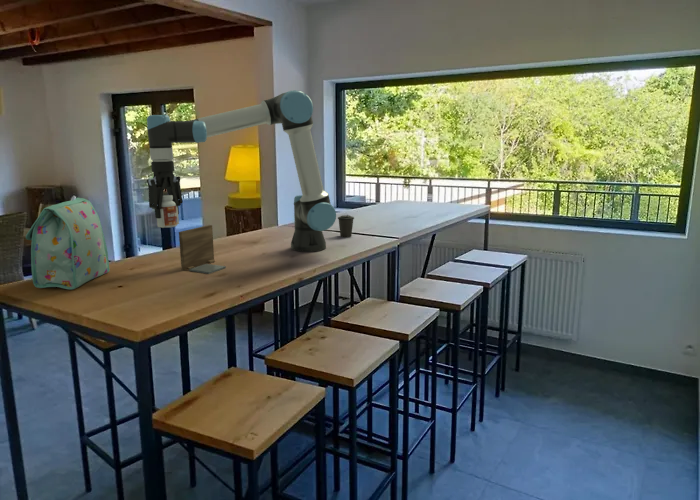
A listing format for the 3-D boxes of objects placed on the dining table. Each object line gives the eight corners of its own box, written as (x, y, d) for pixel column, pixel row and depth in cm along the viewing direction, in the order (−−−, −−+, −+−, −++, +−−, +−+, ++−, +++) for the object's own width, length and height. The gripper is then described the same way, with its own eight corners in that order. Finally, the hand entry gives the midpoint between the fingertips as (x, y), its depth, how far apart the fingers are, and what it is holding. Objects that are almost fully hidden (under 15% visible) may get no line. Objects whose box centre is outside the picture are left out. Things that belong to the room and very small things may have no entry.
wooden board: (216, 261, 196) (214, 225, 192) (187, 271, 181) (184, 232, 178) (208, 260, 197) (206, 224, 194) (178, 269, 183) (176, 231, 180)
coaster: (225, 267, 186) (225, 266, 186) (209, 273, 178) (209, 272, 178) (206, 265, 190) (206, 263, 189) (189, 270, 182) (189, 269, 182)
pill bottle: (170, 228, 179) (167, 196, 176) (156, 227, 181) (152, 196, 178) (181, 225, 185) (178, 194, 182) (167, 224, 187) (164, 194, 184)
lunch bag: (69, 271, 180) (60, 195, 174) (115, 272, 180) (107, 196, 174) (27, 290, 158) (15, 204, 152) (79, 291, 158) (69, 205, 152)
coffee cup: (345, 238, 239) (345, 217, 237) (334, 236, 245) (334, 215, 243) (357, 236, 245) (357, 215, 242) (346, 233, 251) (346, 213, 248)
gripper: (174, 158, 187) (179, 220, 193) (132, 162, 171) (139, 229, 176) (189, 159, 184) (195, 221, 190) (148, 162, 167) (155, 231, 173)
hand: (168, 225), depth 183 cm, fingers closed on pill bottle, 6 cm apart
